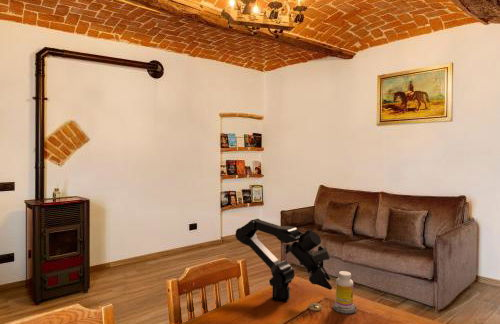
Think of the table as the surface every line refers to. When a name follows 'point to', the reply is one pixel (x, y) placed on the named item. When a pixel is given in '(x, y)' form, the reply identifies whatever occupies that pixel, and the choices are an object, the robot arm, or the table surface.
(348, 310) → the flange pad
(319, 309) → the small brass flange
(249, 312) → the table surface
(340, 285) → the supplement bottle
